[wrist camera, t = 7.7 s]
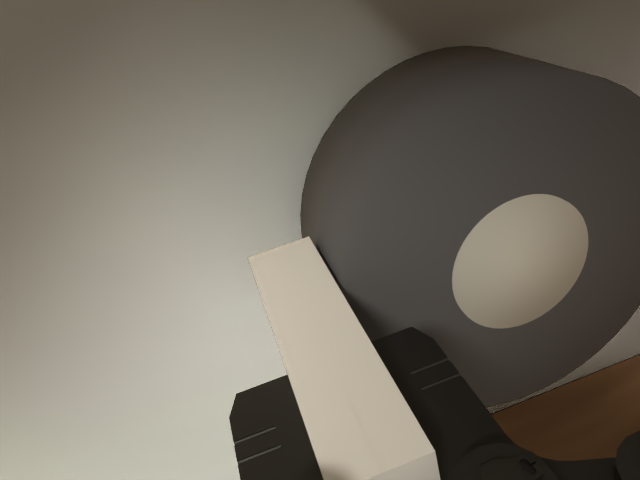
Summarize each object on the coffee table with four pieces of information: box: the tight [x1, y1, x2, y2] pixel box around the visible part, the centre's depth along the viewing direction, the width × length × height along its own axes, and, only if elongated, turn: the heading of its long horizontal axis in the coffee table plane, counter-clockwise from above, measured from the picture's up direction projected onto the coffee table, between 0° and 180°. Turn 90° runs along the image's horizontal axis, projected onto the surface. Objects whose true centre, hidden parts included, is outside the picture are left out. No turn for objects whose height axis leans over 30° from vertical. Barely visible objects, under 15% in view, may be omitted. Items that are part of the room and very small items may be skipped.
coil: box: [301, 46, 640, 407], centre depth 14 cm, size 8×8×4 cm
